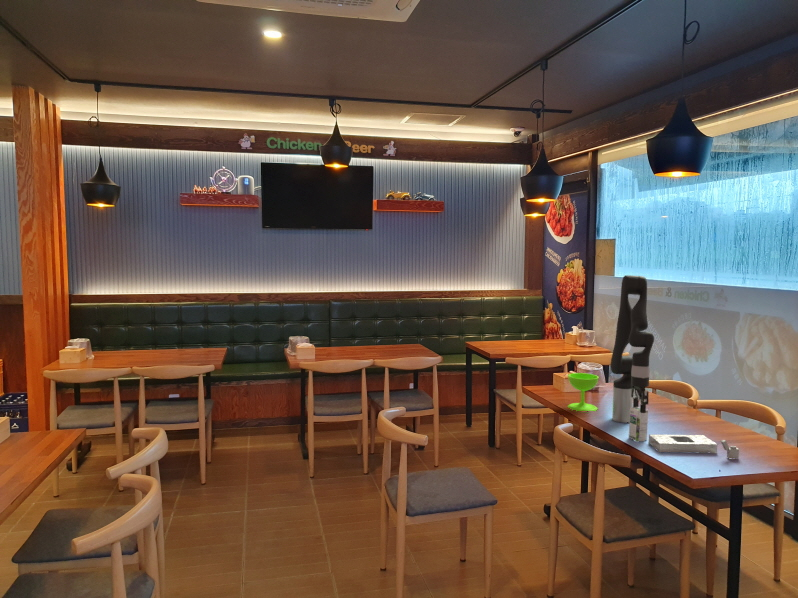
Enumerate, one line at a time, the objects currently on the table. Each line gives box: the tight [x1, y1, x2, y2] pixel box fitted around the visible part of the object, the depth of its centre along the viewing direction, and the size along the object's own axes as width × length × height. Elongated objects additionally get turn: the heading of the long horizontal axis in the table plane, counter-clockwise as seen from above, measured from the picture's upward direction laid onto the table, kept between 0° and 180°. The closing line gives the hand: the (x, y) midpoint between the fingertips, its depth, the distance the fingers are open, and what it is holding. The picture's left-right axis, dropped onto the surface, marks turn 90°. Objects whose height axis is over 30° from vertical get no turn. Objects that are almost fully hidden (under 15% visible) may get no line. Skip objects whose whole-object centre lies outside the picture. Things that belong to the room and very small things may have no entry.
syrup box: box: [628, 406, 649, 443], centre depth 260 cm, size 6×6×14 cm
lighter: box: [720, 439, 740, 459], centre depth 236 cm, size 7×2×8 cm, turn 93°
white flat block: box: [648, 434, 718, 454], centre depth 249 cm, size 12×24×4 cm, turn 87°
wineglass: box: [567, 372, 599, 412], centre depth 312 cm, size 16×16×18 cm
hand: (639, 410), depth 259 cm, fingers open, 8 cm apart
